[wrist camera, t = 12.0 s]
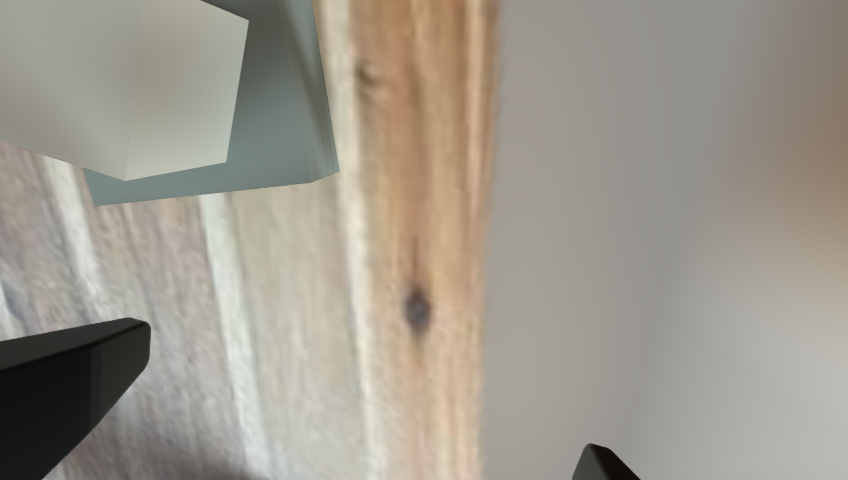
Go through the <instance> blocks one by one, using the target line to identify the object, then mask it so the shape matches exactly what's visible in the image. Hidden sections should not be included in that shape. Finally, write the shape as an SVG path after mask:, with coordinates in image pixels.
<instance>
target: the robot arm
mask: <svg viewBox="0 0 848 480" xmlns="http://www.w3.org/2000/svg"><path fill="white" fill-rule="evenodd" d="M150 339H151V327H150V325H149V323H147V322H145V321H141V320H138V319H134V318H122V319H117V320H111V321H106V322H101V323H96V324H90V325H85V326H80V327H74V328H69V329H64V330H58V331H53V332H48V333H42V334H37V335H32V336H26V337H21V338H16V339H11V340H5V341H0V480H42V479H43V478H44V477H45V476H46V475H47V474H48V473H49V472H50V471H51V470H52V469H53V468H54V467H55V466H56V465H57V464H58V463H59V462H60V461H62V460H63V459H64V458H65V457H66V456H67V455H68V454H69V453H70V452H71V451H72V450H73V449H74V448H75V447H76V446H77V445H78V444H79V443H80V442H81V441H82V440H83V439H84V438H85V437H86V436H87V435H88V434H89V433H90V432H91V431H92V430H93V428H94V427H95V426H96V425H97V424H98V423H99V422H100V421H101V420H102V418H103V417H104V416H105V415H106V414H107V413H108V411H109V410H110V409H111V408H112V407H113V405H114V404H115V403H116V402H117V401H118V400H119V398H120V397H121V396H122V395H123V394H124V393H125V391H126V390H127V389H128V388H129V387H130V386H131V384H132V383H133V382H134V381H135V380H136V379H137V377H138V376H139V375H140V374H141V373H142V372H143V370H144V369H145V367H146V366H147V364H148V361H149V356H150ZM572 480H640V479H639V478H638V477H637V476H636V475H635V474H634V473H633V472H632V471H631V470H630V469H629V468H628V467H627V466H626V465H625V464H624V463H623V462H622V461H621V460H620V459H619V457H618V456H617V455H616V454H614V452H613V451H612V450H610V449H609V448H606V447H602V446H599V445H595V444H587V445H586V446H585V448H584V450H583V452H582V454H581V457H580V460H579V462H578V464H577V467H576V469H575V472H574V474H573V477H572Z"/></svg>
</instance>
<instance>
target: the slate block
mask: <svg viewBox="0 0 848 480" xmlns="http://www.w3.org/2000/svg"><path fill="white" fill-rule="evenodd" d="M201 1H203V2H206V3H208V4H210V5H213V6H215V7H218V8H220V9H222V10H225V11H227V12H230V13H232V14H235V15H237V16H239V17H242V18H244V19H247V20H249V23H248V30H247V36H246V42H245V48H244V54H243V60H242V67H241V73H240V79H239V85H238V91H237V97H236V104H235V110H234V116H233V122H232V128H231V134H230V141H229V147H228V153H227V159H226V162H224V163H219V164H214V165H208V166H203V167H198V168H192V169H187V170H182V171H176V172H171V173H165V174H160V175H155V176H149V177H144V178H139V179H133V180H128V181H123V180H120V179H117V178H114V177H111V176H108V175H105V174H101V173H98V172H95V171H92V170H89V169H86V168H83V169H84V172H85V175H86V179H87V182H88V185H89V188H90V192H91V195H92V198H93V201H94V205H95V206H101V205H110V204H119V203H128V202H138V201H147V200H156V199H165V198H174V197H184V196H193V195H202V194H211V193H221V192H230V191H239V190H248V189H257V188H267V187H276V186H285V185H294V184H303V183H311V182H314V181H316V180H319V179H321V178H324V177H326V176H329V175H331V174H334V173H336V172H339V171H340V170H339V164H338V158H337V152H336V146H335V140H334V134H333V128H332V122H331V116H330V110H329V104H328V98H327V92H326V86H325V80H324V74H323V68H322V62H321V56H320V50H319V44H318V38H317V32H316V26H315V20H314V14H313V8H312V2H311V0H201Z"/></svg>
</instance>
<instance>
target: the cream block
mask: <svg viewBox="0 0 848 480" xmlns="http://www.w3.org/2000/svg"><path fill="white" fill-rule="evenodd" d="M248 23H249V20H247V19H244V18H242V17H239V16H237V15H235V14H232V13H230V12H227V11H225V10H222V9H220V8H218V7H215V6H213V5H210V4H208V3H206V2H203V1H201V0H0V141H2V142H5V143H8V144H12V145H15V146H18V147H21V148H24V149H27V150H30V151H33V152H36V153H39V154H43V155H46V156H49V157H52V158H55V159H58V160H61V161H64V162H67V163H70V164H74V165H77V166H80V167H83V168H86V169H89V170H92V171H95V172H98V173H101V174H105V175H108V176H111V177H114V178H117V179H120V180H123V181H128V180H133V179H139V178H144V177H149V176H155V175H160V174H165V173H171V172H176V171H182V170H187V169H192V168H198V167H203V166H208V165H214V164H219V163H224V162H226V159H227V153H228V147H229V141H230V134H231V128H232V122H233V116H234V110H235V104H236V97H237V91H238V85H239V79H240V73H241V67H242V60H243V54H244V48H245V42H246V36H247V30H248Z"/></svg>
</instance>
